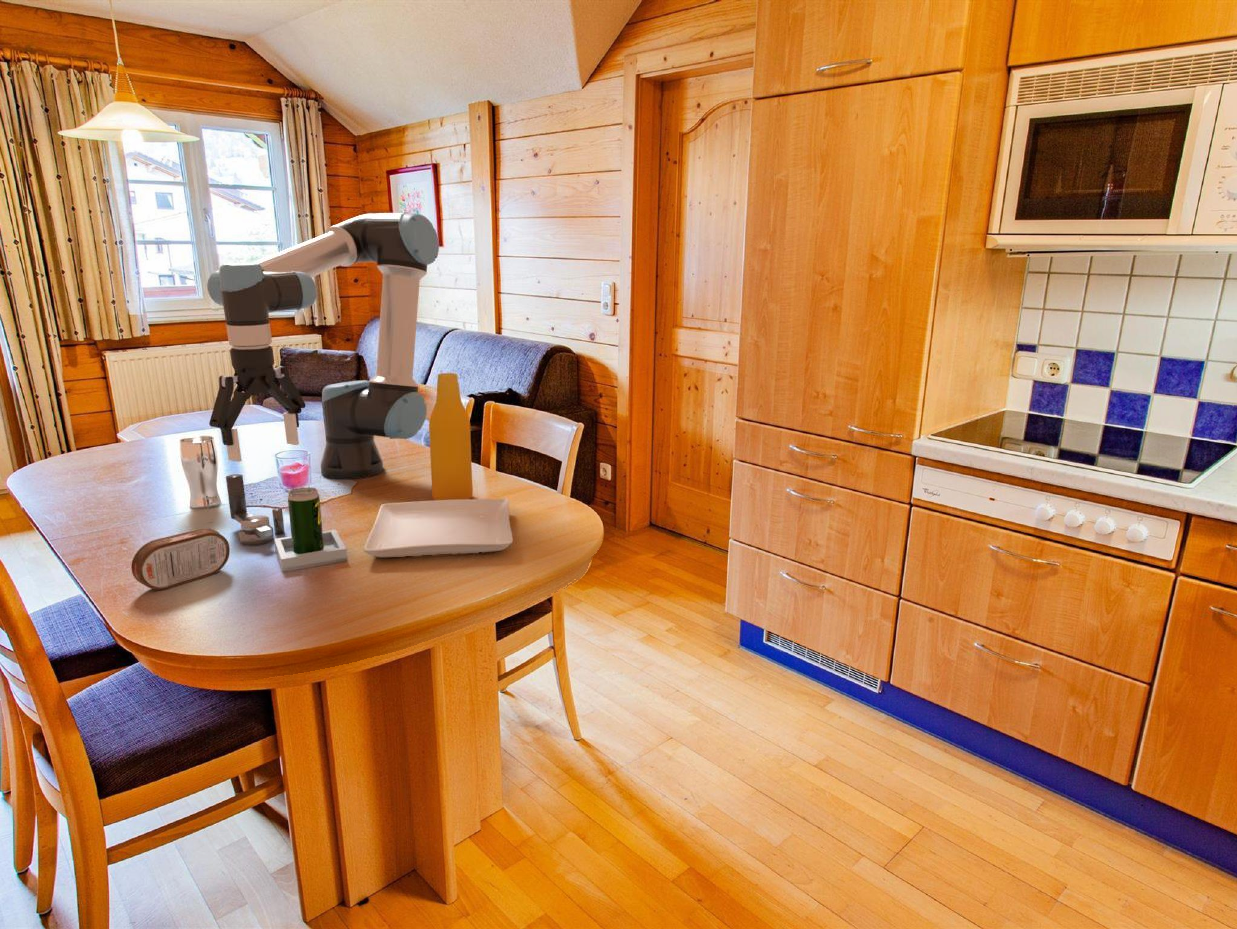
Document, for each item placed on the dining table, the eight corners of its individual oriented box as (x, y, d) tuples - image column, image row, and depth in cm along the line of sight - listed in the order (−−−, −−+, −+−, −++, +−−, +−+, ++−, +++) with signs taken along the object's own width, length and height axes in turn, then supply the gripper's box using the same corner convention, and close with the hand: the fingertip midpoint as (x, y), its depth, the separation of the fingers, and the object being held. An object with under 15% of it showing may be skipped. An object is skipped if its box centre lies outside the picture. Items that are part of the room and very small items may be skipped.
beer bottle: (431, 505, 169) (425, 378, 161) (432, 493, 177) (426, 371, 170) (473, 504, 171) (469, 377, 163) (472, 491, 179) (468, 371, 171)
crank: (280, 533, 144) (275, 490, 142) (253, 539, 141) (248, 496, 139) (249, 512, 155) (244, 472, 153) (223, 517, 152) (218, 477, 149)
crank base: (283, 530, 152) (281, 507, 151) (287, 540, 147) (285, 516, 146) (177, 546, 143) (173, 521, 142) (177, 557, 138) (173, 532, 137)
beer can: (295, 560, 136) (289, 497, 133) (291, 550, 141) (285, 489, 138) (326, 554, 139) (321, 493, 136) (321, 545, 143) (316, 485, 140)
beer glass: (208, 510, 163) (199, 443, 158) (180, 508, 164) (170, 441, 160) (230, 501, 169) (222, 436, 165) (203, 498, 170) (194, 434, 166)
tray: (336, 541, 147) (335, 529, 147) (347, 560, 138) (346, 548, 137) (275, 550, 142) (274, 538, 141) (282, 571, 133) (281, 559, 132)
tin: (226, 565, 135) (220, 521, 133) (235, 569, 133) (229, 525, 131) (134, 592, 124) (126, 545, 121) (142, 598, 122) (134, 550, 120)
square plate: (508, 512, 167) (508, 496, 166) (513, 560, 141) (513, 541, 140) (382, 517, 162) (381, 500, 161) (363, 568, 136) (361, 548, 135)
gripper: (290, 337, 156) (302, 435, 163) (176, 353, 135) (195, 465, 141) (316, 340, 153) (327, 439, 160) (204, 356, 132) (221, 471, 138)
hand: (265, 452), depth 150 cm, fingers open, 13 cm apart
